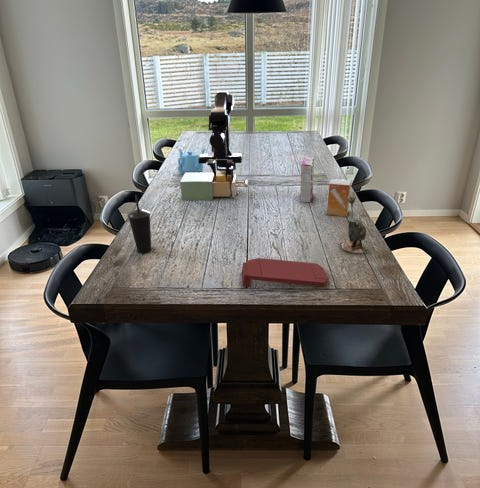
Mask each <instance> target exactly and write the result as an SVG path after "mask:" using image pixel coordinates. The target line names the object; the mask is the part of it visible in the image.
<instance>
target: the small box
mask: <svg viewBox="0 0 480 488" xmlns="http://www.w3.org/2000/svg"><path fill="white" fill-rule="evenodd" d="M352 182H353V180H351V179H336V178H331V179H330V182H329V185H328V195H327V205H326V206H327V207H326V215H328V216H339V217H347V216H348V213H349V207H350V203H349V201H348V198H347V197H348V195H349V194H350V192H352V191H351V189H352ZM347 201H348V202H347Z"/></svg>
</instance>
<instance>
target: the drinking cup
mask: <svg viewBox="0 0 480 488" xmlns="http://www.w3.org/2000/svg"><path fill="white" fill-rule="evenodd" d="M134 198H135V204H136V209H133V210H132V211H129V212H128V213H127V216H126V217H127V218H128V220H129V225H130V229H131V232H132V236H133V240H134V244H135V247H136V251H137V253H139V254H148V253H150V252H151V251H152V234H151V233H152V232H151V211H150V210H148V209H143V208H140V204H139V199H138V195H137V194H135V195H134Z"/></svg>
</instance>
